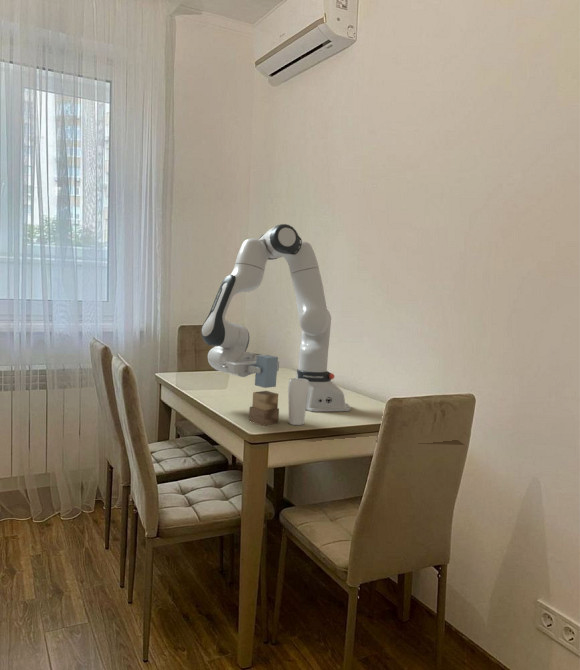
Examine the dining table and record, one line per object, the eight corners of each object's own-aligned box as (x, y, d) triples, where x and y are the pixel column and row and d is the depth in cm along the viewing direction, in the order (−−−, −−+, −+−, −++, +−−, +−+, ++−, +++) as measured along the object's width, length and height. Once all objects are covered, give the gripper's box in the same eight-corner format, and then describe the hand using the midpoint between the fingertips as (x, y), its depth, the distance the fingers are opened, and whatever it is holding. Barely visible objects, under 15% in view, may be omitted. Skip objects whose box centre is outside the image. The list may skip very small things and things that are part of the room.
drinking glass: (283, 424, 194) (285, 380, 192) (290, 420, 200) (293, 377, 199) (302, 427, 191) (305, 382, 190) (308, 423, 198) (311, 379, 196)
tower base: (264, 418, 200) (265, 404, 200) (278, 423, 196) (279, 408, 195) (248, 421, 195) (249, 406, 195) (262, 426, 191) (263, 411, 190)
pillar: (265, 384, 198) (267, 355, 197) (275, 386, 194) (277, 357, 194) (254, 385, 194) (256, 355, 194) (264, 387, 191) (266, 357, 190)
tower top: (265, 405, 199) (266, 390, 199) (277, 408, 195) (278, 393, 195) (252, 406, 195) (253, 392, 195) (264, 410, 191) (265, 395, 191)
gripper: (218, 356, 196) (244, 362, 186) (263, 353, 210) (290, 359, 200) (217, 374, 196) (243, 381, 186) (262, 371, 210) (289, 377, 201)
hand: (268, 370), depth 193 cm, fingers closed on pillar, 5 cm apart
